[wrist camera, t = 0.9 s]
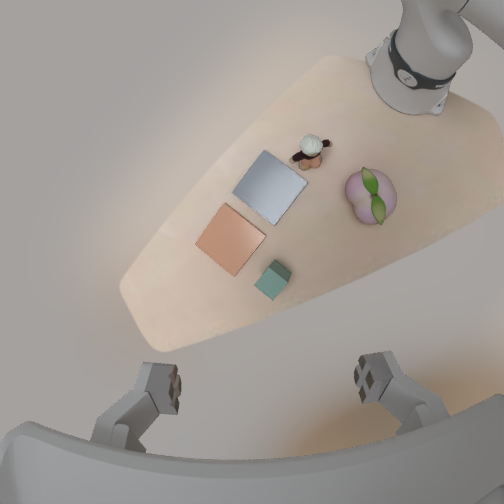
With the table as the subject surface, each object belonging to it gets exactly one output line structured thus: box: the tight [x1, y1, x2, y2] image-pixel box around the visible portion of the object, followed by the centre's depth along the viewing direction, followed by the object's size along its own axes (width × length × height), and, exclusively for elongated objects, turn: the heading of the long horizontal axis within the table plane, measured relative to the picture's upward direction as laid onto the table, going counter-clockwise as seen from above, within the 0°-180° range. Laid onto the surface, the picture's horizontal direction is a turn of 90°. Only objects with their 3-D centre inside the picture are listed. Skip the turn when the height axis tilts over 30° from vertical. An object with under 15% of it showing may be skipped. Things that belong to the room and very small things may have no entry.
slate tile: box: [232, 150, 308, 225], centre depth 51 cm, size 10×10×1 cm
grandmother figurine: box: [289, 134, 332, 171], centre depth 43 cm, size 8×4×13 cm, turn 127°
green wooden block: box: [254, 260, 291, 300], centre depth 50 cm, size 4×4×8 cm
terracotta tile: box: [195, 203, 266, 276], centre depth 54 cm, size 10×10×1 cm
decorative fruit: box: [345, 167, 397, 225], centre depth 43 cm, size 9×8×10 cm
